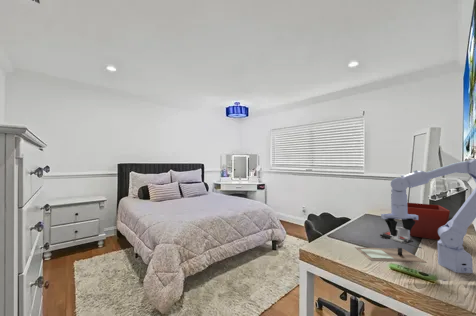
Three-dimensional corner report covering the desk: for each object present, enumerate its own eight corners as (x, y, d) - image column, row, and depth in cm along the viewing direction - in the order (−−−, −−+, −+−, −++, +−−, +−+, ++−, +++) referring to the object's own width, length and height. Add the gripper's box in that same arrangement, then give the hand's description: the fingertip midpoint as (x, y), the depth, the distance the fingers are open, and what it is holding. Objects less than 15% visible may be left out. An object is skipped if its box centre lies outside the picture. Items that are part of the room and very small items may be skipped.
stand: (427, 265, 86) (427, 255, 86) (371, 263, 88) (371, 253, 88) (403, 250, 100) (402, 242, 100) (354, 249, 102) (354, 241, 102)
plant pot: (439, 233, 126) (439, 204, 126) (451, 243, 109) (450, 210, 110) (399, 228, 135) (399, 201, 136) (404, 237, 119) (404, 206, 119)
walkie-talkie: (377, 238, 119) (420, 251, 100) (377, 230, 119) (420, 242, 101) (386, 235, 122) (430, 248, 104) (386, 228, 122) (430, 239, 104)
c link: (409, 239, 91) (409, 230, 91) (397, 239, 91) (397, 230, 92) (401, 235, 96) (401, 226, 96) (390, 235, 96) (390, 226, 97)
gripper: (409, 203, 98) (410, 233, 97) (376, 202, 99) (377, 232, 98) (421, 206, 91) (422, 238, 90) (386, 205, 92) (386, 237, 91)
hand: (399, 235), depth 94 cm, fingers closed on c link, 5 cm apart
